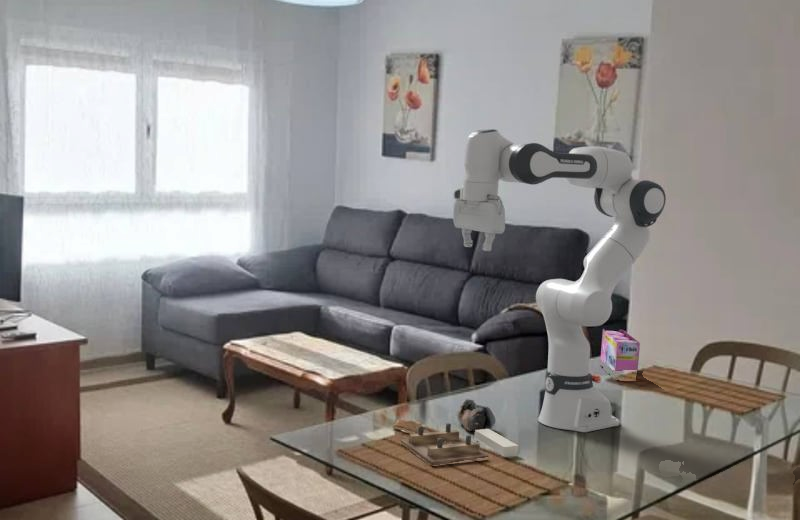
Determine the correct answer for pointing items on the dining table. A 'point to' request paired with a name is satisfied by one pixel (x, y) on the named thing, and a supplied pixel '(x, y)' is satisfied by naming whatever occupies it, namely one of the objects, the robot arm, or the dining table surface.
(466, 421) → the bison figurine
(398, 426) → the shard
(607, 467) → the dining table surface
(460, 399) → the dining table surface
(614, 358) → the gum box
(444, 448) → the walnut rack
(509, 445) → the clay strip
